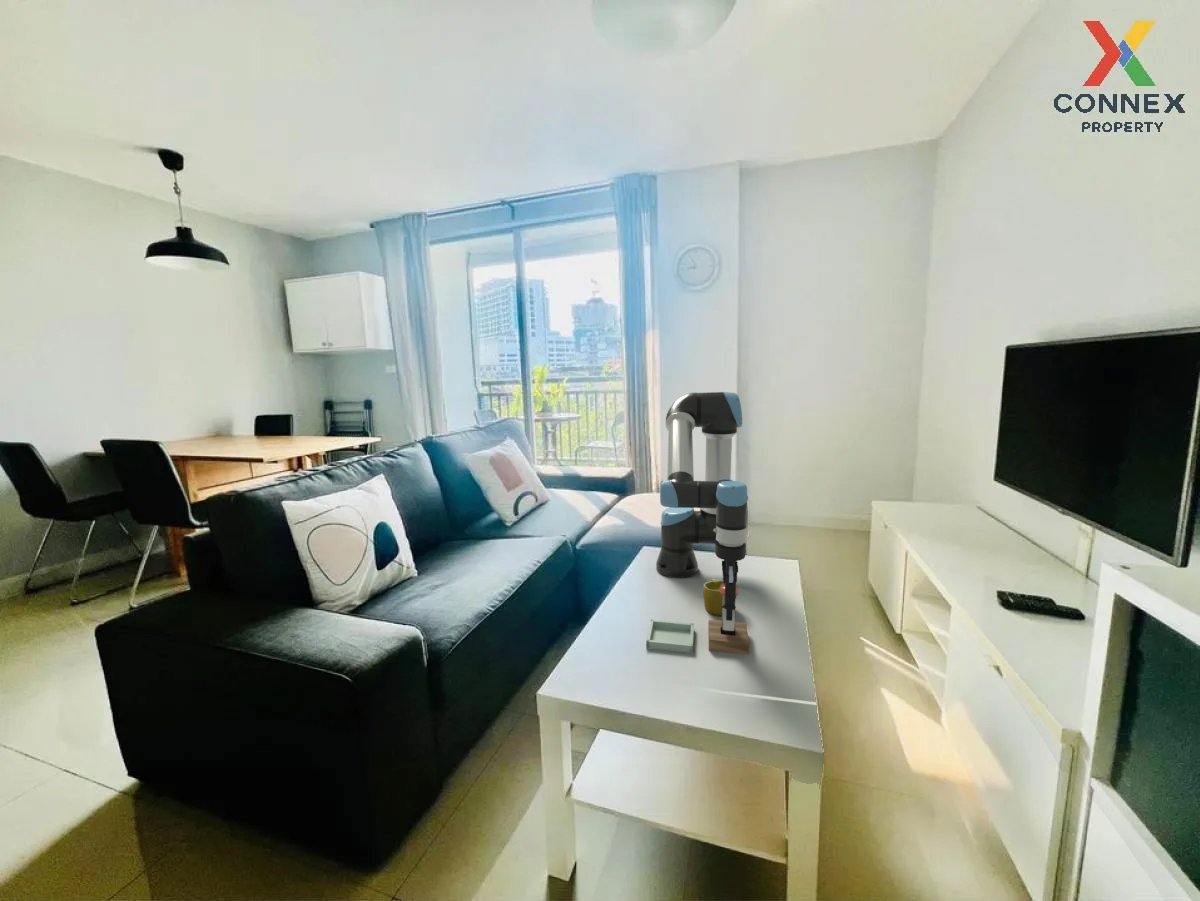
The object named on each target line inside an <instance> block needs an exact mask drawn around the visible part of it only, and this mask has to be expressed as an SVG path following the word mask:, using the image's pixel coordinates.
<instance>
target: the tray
mask: <svg viewBox="0 0 1200 901" xmlns="http://www.w3.org/2000/svg"><path fill="white" fill-rule="evenodd" d="M694 630H695V623H691V622H690V623H689V622H681V621H680V622H679V621H669V620H659V619H657V620H656V619H650V622H649V627H648V632H647V636H646V640H645V641H646V642H645V648H646V650H647V651H650V650H652V649H653V650H660V651H671V652H676V653H677V652H678V653H688V654H693V653H694V634H695V633H694V632H695V631H694Z"/></svg>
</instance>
